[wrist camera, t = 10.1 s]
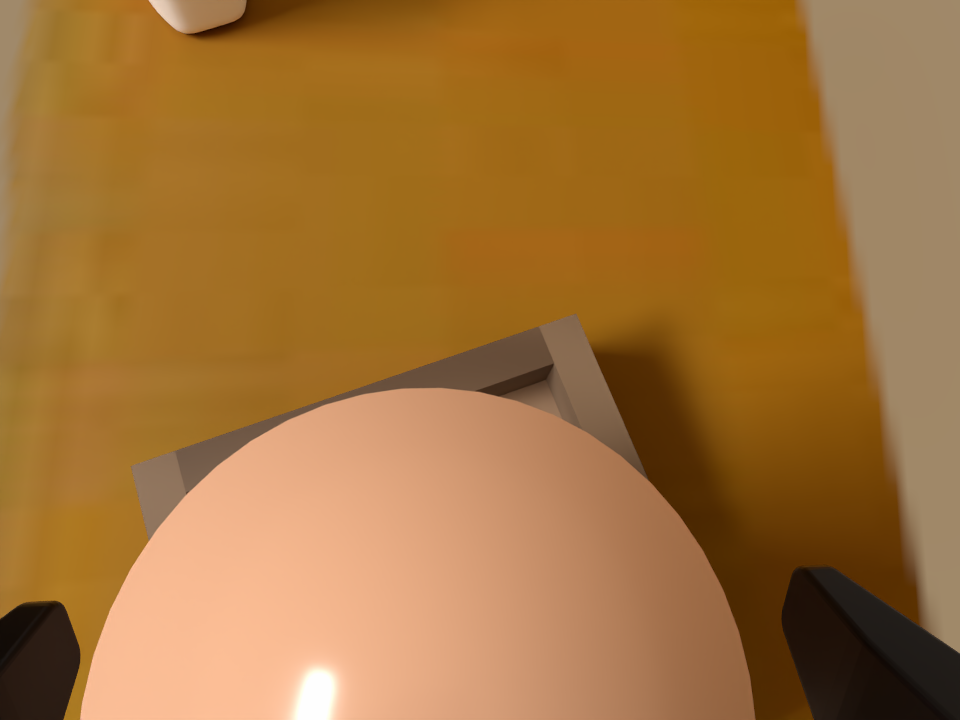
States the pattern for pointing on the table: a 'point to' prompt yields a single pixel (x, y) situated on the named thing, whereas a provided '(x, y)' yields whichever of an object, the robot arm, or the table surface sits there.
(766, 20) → the table surface
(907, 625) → the robot arm
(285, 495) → the peach tall rounded piece
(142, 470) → the square wooden tray
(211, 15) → the eye dropper bottle
